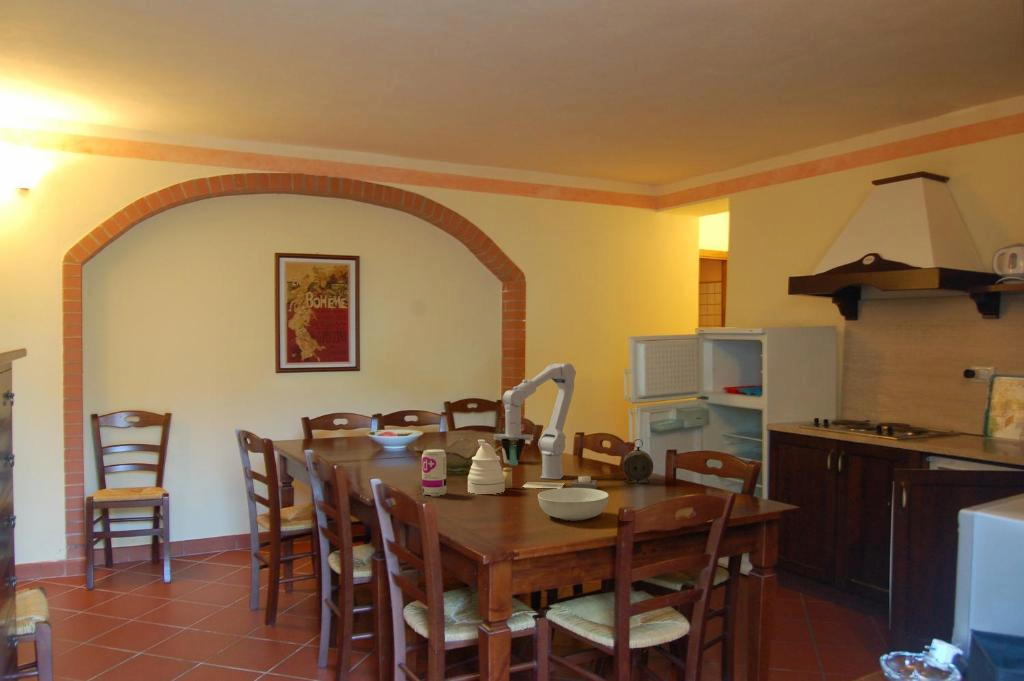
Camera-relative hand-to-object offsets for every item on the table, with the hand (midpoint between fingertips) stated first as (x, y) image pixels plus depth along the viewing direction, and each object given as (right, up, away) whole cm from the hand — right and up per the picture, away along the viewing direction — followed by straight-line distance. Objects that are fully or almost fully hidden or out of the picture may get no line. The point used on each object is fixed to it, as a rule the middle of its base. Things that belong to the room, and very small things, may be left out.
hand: (513, 459), depth 276 cm
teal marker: (0, -2, 0) cm, 2 cm away
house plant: (-3, -9, +48) cm, 49 cm away
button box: (+25, -8, -12) cm, 29 cm away
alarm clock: (+46, -9, -2) cm, 47 cm away
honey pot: (-10, -9, -15) cm, 20 cm away
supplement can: (-27, -9, -21) cm, 35 cm away
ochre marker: (-2, -9, -10) cm, 13 cm away
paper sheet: (+11, -9, -7) cm, 15 cm away
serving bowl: (+17, -9, -55) cm, 59 cm away
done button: (+25, -7, -12) cm, 29 cm away
